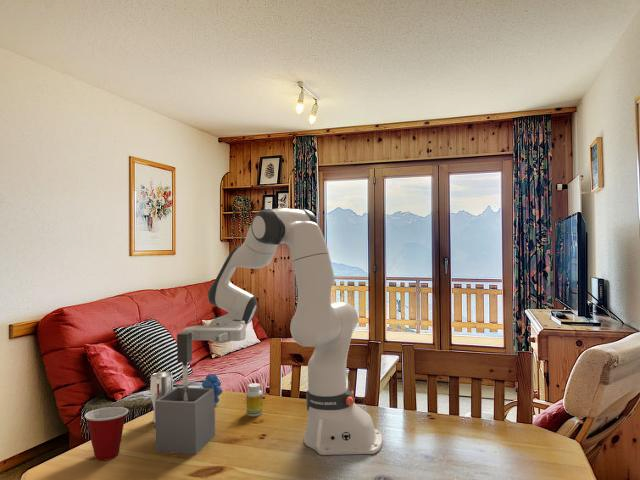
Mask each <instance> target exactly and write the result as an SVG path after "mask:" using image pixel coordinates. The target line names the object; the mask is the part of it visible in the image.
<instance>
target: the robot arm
mask: <svg viewBox="0 0 640 480" xmlns="http://www.w3.org/2000/svg"><path fill="white" fill-rule="evenodd" d="M280 244H285V245H287V247H288V249H289V251H290V257H291V261H292V262H291V263H292V265H293V270H294V276H295V280H296V286H297V303H296V308H295V313H294V315H293V317H292V318H291V321H290V325H289V326H290V327H289V329H290V333H291V337H292V339H293V340H294V342H295V343H296V344H298V345H299V346H301V347H304V348H305V347H306V348H307V347H308V348H309V347H310V348H314V350H313V352H312V354H311V357H310V359H308V363H307V387H308V388H307V391H306V397H305V399H306V400H305V401H306V409H307V418H306V419H307V420H306V427H305V432H304V437H303V443H304V444H305V445H306V446H307V447H309V448H311V449H313V450H315V452H316V453H317V454H319V455H321V456H327V455H328V456H330V455H337V456H338V455H364V454H365V455H371V454H375V453H378V452H379V451H380V449H381V448H382V446H383V443H384V442H383V435H382V433H381V431H380V430H379V429H377V428H375V425H374V424H375V423H374V421H373V419H372V416H371V415H370V413H368V412H367V411H365V410H364V409H363V408H361V407H360V406H359V405H358V404H356V403H355V402H354V401H355V395H354V390H353V389H352V390H351V391H350V389H348V388H347V360H348V354H349V349H350V344H351V340H352V337H353V333H354V331H355V330H356V328H357V326H358V322H359V316H358V312H357V310H356V309H355V307H354V306H353V305H352V304H350V303H348V302H345V301H338V300H337V301H331V298H332V297H331V296H332V295H331V294H332V287H333V285H334V283H335V280H336V279H335V274H334V270H333V266H332V261H331V258H330V252H329V247H328V245H327V242H326V240H325V237H324V234H323V232H322V230H321V227H320V226H319V224H318V220H317V217H316V215H315V214H314V213H313V212H312V211H310V210H308V209H304V208H288V207H287V208H286V207H280V208H272V209H270V208H267V209H262V210H259V211H257V212H256V213H255V214H254V216H253V218H252V220H251V224H250V226H249V228H248V230H247V233H246V236H245V239H244V242H243V243H242V245H238V246H235V247H234V248H233V249H232V250H231V251H230V253H229V254H228V256H227V257H226V259H225V261H224V263H223V264H222V267H221V268H220V270H219V272H218V274H217V276H216V277H215V280H214V281H213V283H212V284H211V285H210V287H209V289H208V291H207V294H206V296H207V299H208V302H209V304H211V305H212V306H213V307H214V306H215V307H216V308H220V309H221V310H224V311H225V312H227V313H226V314H224V315H221V316H218V317H215V318H213V320H211V321H210V322H209V325H191V326H189V327H185V328H183V330H182V332H192V342H193V341H213V342H214V343H216V344H224V343H229V342H232V341H233V342H240V341H244V340H245V339H246V331H247V329H246V328H247V326H248V325H249V323H251V322H252V320H253V319H254V317H255V316H256V314H257V310H258V307H259V306H258V300H257V297H256V295H253V294H252V293H251V292H248V291H247V290H244V289H242V288H240V287H239V286H237V285H235V284H233V283H232V281H231V278H232V276H233V275H234V273H235V271H236V269H237V268H245V269H250V270H251V269H252V270H253V269H255V270H256V269H257V270H258V269H262V268H265V267H267V266H268V265H270V264H271V262H272V261H273V259H274V257H275V255H276V253H277V249H278V246H279V245H280Z"/></svg>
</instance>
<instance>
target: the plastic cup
mask: <svg viewBox="0 0 640 480" xmlns="http://www.w3.org/2000/svg"><path fill="white" fill-rule="evenodd" d="M129 412H130V411H129V409H128V408H126V407H121V406H113V407H112V406H111V407H109V406H108V407H101V408H97V409H93V410H90V411H88V412H86V413H85V414H84V418H85V419H86V423H87V427H88V431H89V436H90V441H91V447H92V451H93V455H94V457H95V460H96V461H109V460H111V459H115V458H116V457H117V456H119V452H120V447H121V442H122V437H123V432H124V425H125V420H126V418H127V414H128V413H129Z"/></svg>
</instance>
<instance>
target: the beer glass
mask: <svg viewBox="0 0 640 480" xmlns="http://www.w3.org/2000/svg"><path fill="white" fill-rule="evenodd" d="M173 389H174V380H173V373H172V372H171V371H159V372H155V373H152V374H151V375H150V398H151V403H152V407H153V415H152V423H153V425H154V424H155V401H156V400H157V399H159V398H161V397H162V396H164V395H165V394H167V393H169V392H170V391H172V390H173Z"/></svg>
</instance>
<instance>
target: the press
mask: <svg viewBox="0 0 640 480" xmlns="http://www.w3.org/2000/svg"><path fill="white" fill-rule="evenodd" d="M179 400H180V401H179ZM188 401H194V402H184V401H183V386H176V387H175V388H173V390H172V391H170V392H169V393H167V394H165V395H164V396H162V397H161V398H159V399H157V400H156V401H155V426H154V427H155V452H156V453H168V454H169V453H170V454H181V455H182V454H183V455H197V454H199V452H200V451H202V449H204V448H205V446H206V445H208V443H209V442H210V441H211V440H212V439H213V438H214V437H215V436H216V421H215V420H216V416H215V415H216V413H215V406H214V389H209V388H203V387H188Z"/></svg>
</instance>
